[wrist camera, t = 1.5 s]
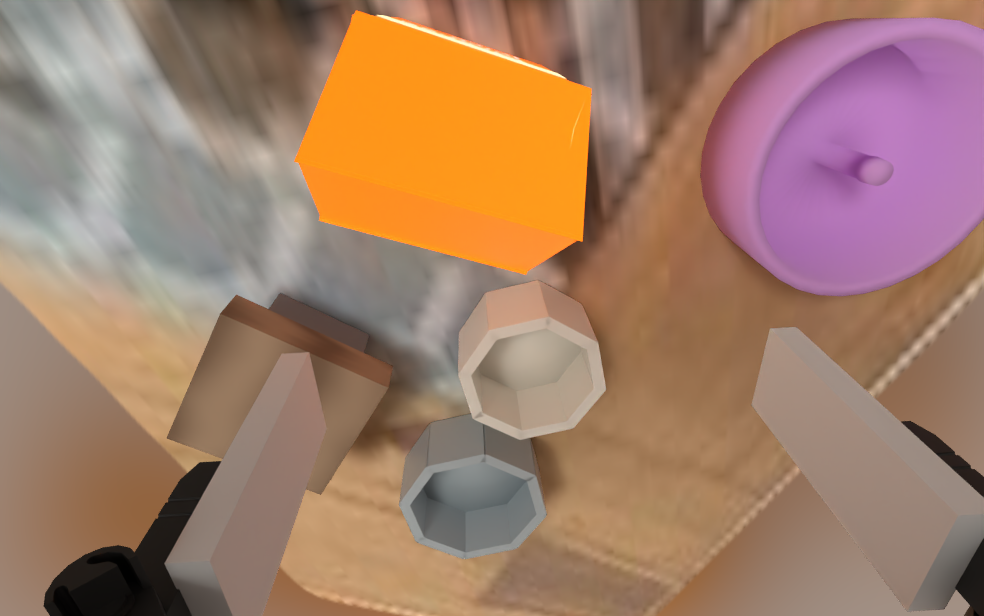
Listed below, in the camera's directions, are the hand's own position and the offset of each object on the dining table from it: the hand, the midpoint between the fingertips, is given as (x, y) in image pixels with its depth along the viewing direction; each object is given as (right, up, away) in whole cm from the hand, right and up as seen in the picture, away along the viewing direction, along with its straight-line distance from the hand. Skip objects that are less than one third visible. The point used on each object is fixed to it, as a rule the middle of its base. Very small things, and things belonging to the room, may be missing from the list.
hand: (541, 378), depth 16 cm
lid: (-16, -4, +22) cm, 27 cm away
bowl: (+1, 0, +26) cm, 26 cm away
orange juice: (-4, +15, +18) cm, 23 cm away
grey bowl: (-3, -12, +31) cm, 34 cm away
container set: (+24, +15, +19) cm, 34 cm away
